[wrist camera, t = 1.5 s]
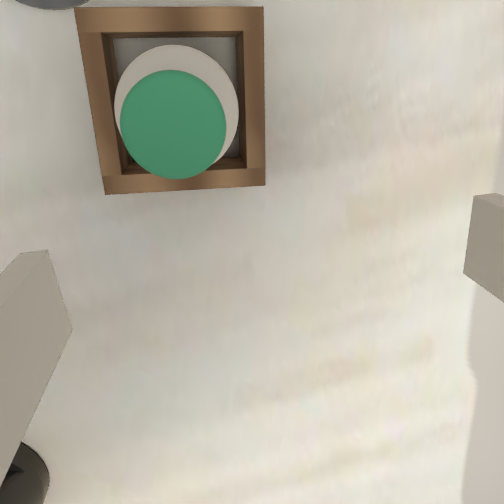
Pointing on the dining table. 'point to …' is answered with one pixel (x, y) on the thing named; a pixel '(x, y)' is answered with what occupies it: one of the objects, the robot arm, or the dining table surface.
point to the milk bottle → (176, 111)
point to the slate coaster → (53, 4)
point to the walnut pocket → (172, 26)
